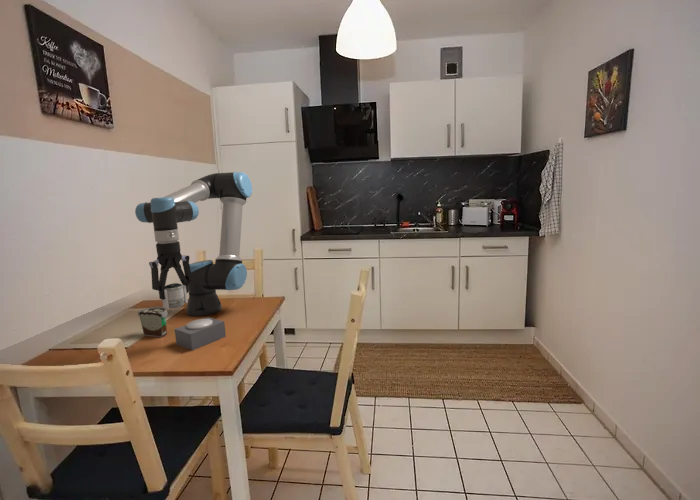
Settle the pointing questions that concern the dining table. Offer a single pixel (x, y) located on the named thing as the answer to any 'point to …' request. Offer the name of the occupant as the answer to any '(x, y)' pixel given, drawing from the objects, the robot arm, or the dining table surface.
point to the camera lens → (175, 295)
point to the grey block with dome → (200, 333)
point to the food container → (153, 321)
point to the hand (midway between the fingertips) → (175, 304)
